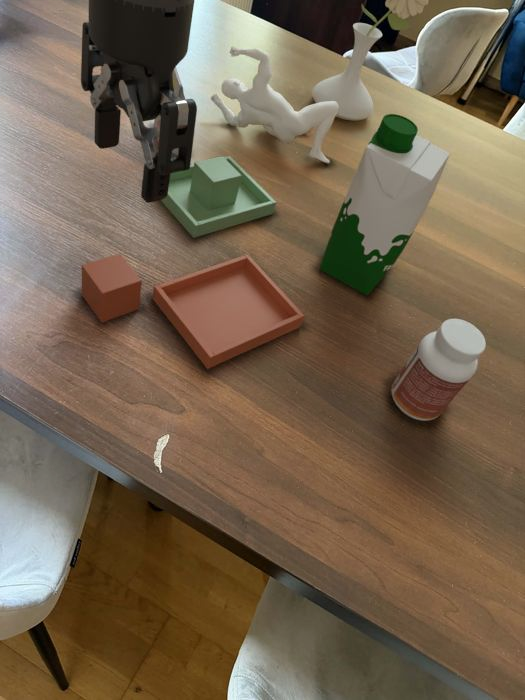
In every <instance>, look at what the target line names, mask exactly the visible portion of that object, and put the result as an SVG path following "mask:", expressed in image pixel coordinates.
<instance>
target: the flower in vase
mask: <svg viewBox="0 0 525 700" xmlns="http://www.w3.org/2000/svg"><path fill="white" fill-rule="evenodd" d="M429 3H430V2H429V0H385V3H384V5H385V7H386V8H388V9H389V10H388V11H387V12H386V13H385V14H384V15H383V16H382V17H381V18H379V20H377V18H376V17H375V16H374V15H373V14H372V13H370V12H369V11H368V10H367V9H366V8H365V6H364V4H363V3H361V10H362V12H363V13H364V14H365V15H366V16H367V17H369V18H370V19H371V20H372V21H373V22H375V23H374V25H371V24H368V23H364V22H355V23H353V25H352V28H353V32H354V44H353V48H352V53H351V57H350V59H349V63H348V64H347V67H346V69H345V70H344V71H342V72H341V73H340V74H336V75H333V76H330V77H327V78H325V79H323V80H321V81H319V82H318V83H316V85H314V87H313V88H312V90H311V94H312V98H313V101H314V102H315V103H319V102H325V101H335V102H337V103H338V105H339V110H338V113H337V115H336V116H335V118H338V119H341V120H345V121H352V122H353V121H356V122H357V121H363V120H366V119H368V118H369V117H370V116H372V114H373V113H374V101H373V100H372V97H371V94H370V93H369V91H368V90H367V88H366V85H364V82H363V81H362V79H361V72H362V68H363V64H364V62H365V60H366V58H367V55H368V54H369V51H370V50H371V48H372V46H374V44H375V43H376V42H377V41H379V40H380V39H381V38H382V37H383V33H382V31H381V30H380V29H379V28H377V26H378V25H379V24H380V23H382V22H383V21H384V20H385V19H386V18H387V21H388V24H389V26H390V28H391V29H392V30H394V31H405V30H409V29H411V25H410V22H409V20H408V18H409V17H410V16H411V17H416V15H418V14H422V13H423V11H424V8H425V6H428V4H429ZM315 103H314V104H315Z"/></svg>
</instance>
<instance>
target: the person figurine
mask: <svg viewBox="0 0 525 700" xmlns="http://www.w3.org/2000/svg"><path fill="white" fill-rule="evenodd" d="M229 54H230V57H239V56H240V55H243V56H246V57H249V58H251V59H254V60H256V61H259V63H258V66H257V73H256V74H255V76H254V77H253V78H252V87H251V88H248V86H246V85H245V84H244V83H243V82H242V81H241V80H239V79H238V78H235V77H228V78H226V79H224V80H223V82H222V83H221V88H220V89H221V93H222V94H223V95H224V96H225V97H227V98H229V99H230V100H237V101H238V102H239V106H240V111H239V112H238V113H237V114H235V113H234V112H233V111H232V110H231V109H230V108H229V107H228V106H227V105H226V104H225V103H224V102H223V100H222V98H221V97H220V95H219V94H218V93H213V94H212V95H211V97H210V100H211V102H213V103H214V105H216V106H217V107H218V108H219V110H220V111H221V113H222V115H223V117H224V119H225V120H226V122H227V123H228V124H229V126H231V127H235V126H236V127H238V128H241V129H244V128H247V127H248V126H249V125H252V126H263V128H264V129H265V130H266V132H267V133H268V134H269V135H271V136H273V137H276V138H277V139H278V140H280V141H281V142H283V143H286V144H288V143H292V141H294V140H295V139H296V137H300V136H302V135H305V134H307V133H308V132H309V131H310V130H311V129H313V128H315V131H314V138H313V143H312V148H311V150H310V152H309V154H308V157H309V158H311V159H315V160H318V161H320V162H322V163H326V164H330V163H331V161H330V159H329V158H327V157H326V156H325V154H324V153H323V151H322V144H323V142H324V139H325V137H326V136H327V134H328V132H329V130H330V129H331V127H332V125H333V123H334V120H335V118H336V117H335V116H336V115H337V113H338V110H339V105H338V103H337V102H335V101H325V102H319V103H312V104H309V105H306V106H304V107H303V108H301V109H300V110H297V111H296V110H295V109H294V108H293V106H292V105H291V104H290V103H289V102H288V100H286V98H284V96H283V95H282V94H281V93H280V92H277V91H275V90H274V89H273V88H272V86H271V85H270V84H269V82H270V81H271V79H272V75H273V70H272V66H271V62H270V59H271V56H270V54H269V53H268V52H265V51H264V50H260V49H257V48H240V47H236V46H231V48H230V50H229Z"/></svg>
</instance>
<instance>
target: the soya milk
mask: <svg viewBox="0 0 525 700" xmlns="http://www.w3.org/2000/svg"><path fill="white" fill-rule="evenodd" d="M418 130H419V129H418V126H417V124H416V123H415V122H414V121H412V120H411V119H409V118H407V117H405V116H403V115H400V114H397V113H396V114H395V113H387V114H385V115H383V117H382V119H381V122H380V124H379V126H378V128H377V130H376V131H375V132H374V134H373V136H372V138H371V140H370V141H369V142H368V143H367V144H368V145H367V146H366V147H365V149H364V151H363V154H362V156H361V159H360V161H359V163H358V165H357V167H356V171H355V173H354V175H353V177H352V180H351V183H350V185H349V187H348V190H347V193H346V195H345V197H344V199H343V202H342V205H341V207H340V209H339V212H338V214H337V216H336V219H335V222H334V224H333V226H332V229H331V232H330V235H329V238H328V241H327V245H326V248H325V250H324V254H323V257H322V260H321V264H320V267H319V271H321V272H324V273H325V274H327V275H329V276H331V277H332V278H334V279H336V280H338V281H339V282H341V283H343V284H345V285H346V286H347V285H348V286H349V287H350V288H352V289H354V290H356V291H357V292H359V293H362V294H363V295H365V296H366V297H368V296H369V294H370V293H372V291H373V290H374V289H375V287H376V286H377V285H378V284H379V283H380V282H381V281H382V279H383V278H384V277H385V275H386V274H388V272H389V271H390V270H391V268H392V267H394V264H395V263H396V261H397V260H398V259H399V257H400V256H401V254H402V253H403V252H404V250H405V248H406V246H407V244H408V243H409V241H410V239H411V237H412V235H413V234H414V232H415V230H416V228H417V227H418V225H419V222H420V221H421V218H422V217H423V216H424V214H425V212H426V210H427V209H428V205H429V204H430V201H431V200H432V198H433V196H434V194H435V191H436V189H437V187H438V184H439V182H440V179H441V177H442V175H443V172H444V169H445V167H446V164H447V162H448V161H449V158H450V155H451V152H449V151H447V150H445V149H443V148H441V147H439V146H437V145H435V144H433V143H431V141H430V140H428V139H426V138H424V137H421V136H419V135H418Z"/></svg>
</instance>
